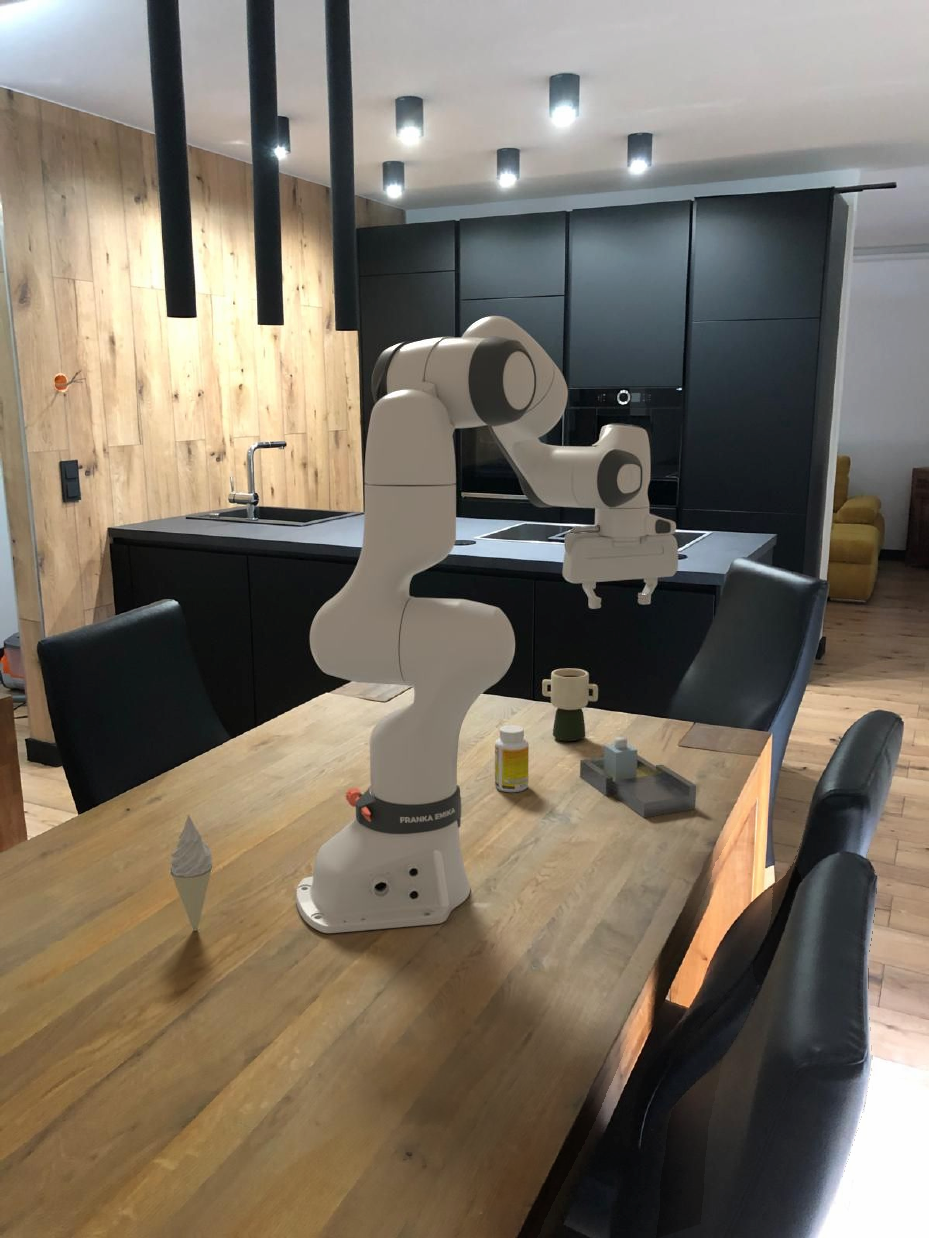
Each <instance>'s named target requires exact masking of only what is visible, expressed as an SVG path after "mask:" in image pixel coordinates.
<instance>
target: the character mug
mask: <svg viewBox="0 0 929 1238" xmlns="http://www.w3.org/2000/svg"><path fill="white" fill-rule="evenodd" d="M550 673H551V674H550V679H543V680H542V683H541V684H542V685H541V686H542V689H541V690H542V691H541V692H542V696H544V697H550V702H551V705H552V706H553V707H554V708H557V709H556V711H555V715H554V722H553V729H552V736H553V737H554V738H556V739H558V740H560V741H565V742H571V741H576V740H580V739H583V738H585V737H586V725H585V717H584V715H585V714H584V712H583V711H584V710H583V709H584V708H586V707H587V705H588V703H589V702H598V698H599V687H598V685H597V684H595V683H589V682H590V678H589V677H590V673H589V672H588V671H587V670H585V669H581V668H568V667H567V668H558V669H554V670H553V671H551V672H550ZM548 685H550V691H548ZM590 690H592V695H589V694H590V693H589V691H590Z"/></svg>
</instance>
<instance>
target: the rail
mask: <svg viewBox="0 0 929 1238" xmlns="http://www.w3.org/2000/svg"><path fill="white" fill-rule="evenodd" d="M579 761H580V762H579V765H580V766H579V777H580V778H581V779H583V780H584V782H586V783H587V784H589V785H590V786H592V787H593V788H594V789H596V790H597V791H599V793H601V794H603V795H604V796H613V797H615V798H616V799H617V800H619V801H620V802H622V804H624V805H626V807H628V808H630V809H631V810H632V811H633V812H635V813H636V814H637V815H639V814H640V815H639V816H640V817H642V818H644V819H647V818H651V817H657V815H658V816H663V815H662V814H664V815H669V814H668V813H670V814H674V812H676V813H680V812H679V811H682V812H688V811H693V810H692V809H694V810H696V801H697V800H696V799H697V797H696V796H697V784H696V783H693V782H692V781H690V780H689V779H687V778H685V777H684V776H682V775H680V774H679V773H677V772H676V771H674V770H672V769H671V768H669V767H667V766H666V765H664V764H655V765H654V764H653V763H651V762H649V761H648V760H646V759H645V758H644V757H642V756H640V755H639V754H637V777H636V778H629V779H622V780H616V781H614V780H613V777H611V776H610V775H609V774H607V773H606V772H604V756H600V757H593V758H586V759H580V760H579Z"/></svg>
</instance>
